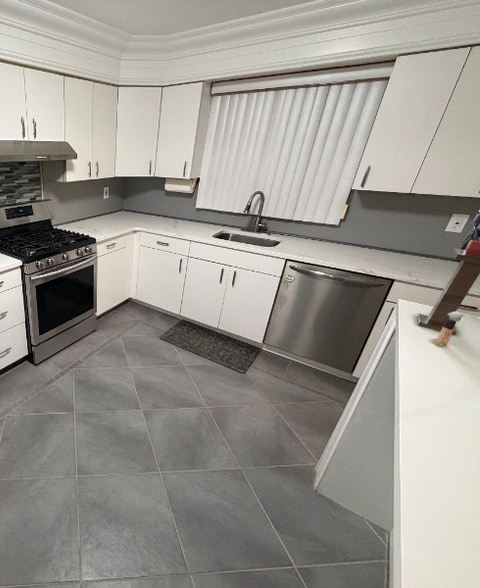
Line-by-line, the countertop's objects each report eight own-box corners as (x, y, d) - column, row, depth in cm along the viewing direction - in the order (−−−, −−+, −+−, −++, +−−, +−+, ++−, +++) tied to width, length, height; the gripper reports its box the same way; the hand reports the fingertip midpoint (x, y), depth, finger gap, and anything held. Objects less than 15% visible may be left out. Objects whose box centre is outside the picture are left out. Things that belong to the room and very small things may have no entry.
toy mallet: (490, 257, 107) (498, 245, 105) (465, 253, 111) (472, 241, 109) (482, 248, 117) (489, 237, 115) (459, 245, 121) (466, 234, 119)
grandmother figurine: (447, 349, 107) (468, 317, 101) (432, 344, 109) (451, 313, 103) (445, 340, 112) (465, 310, 106) (430, 336, 114) (449, 306, 109)
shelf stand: (454, 335, 115) (502, 262, 102) (417, 325, 121) (458, 255, 108) (451, 323, 123) (495, 254, 110) (416, 314, 129) (454, 248, 116)
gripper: (470, 208, 130) (443, 256, 139) (486, 218, 112) (454, 271, 122) (497, 211, 126) (467, 260, 135) (518, 221, 108) (482, 276, 118)
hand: (461, 265), depth 129 cm, fingers open, 13 cm apart
